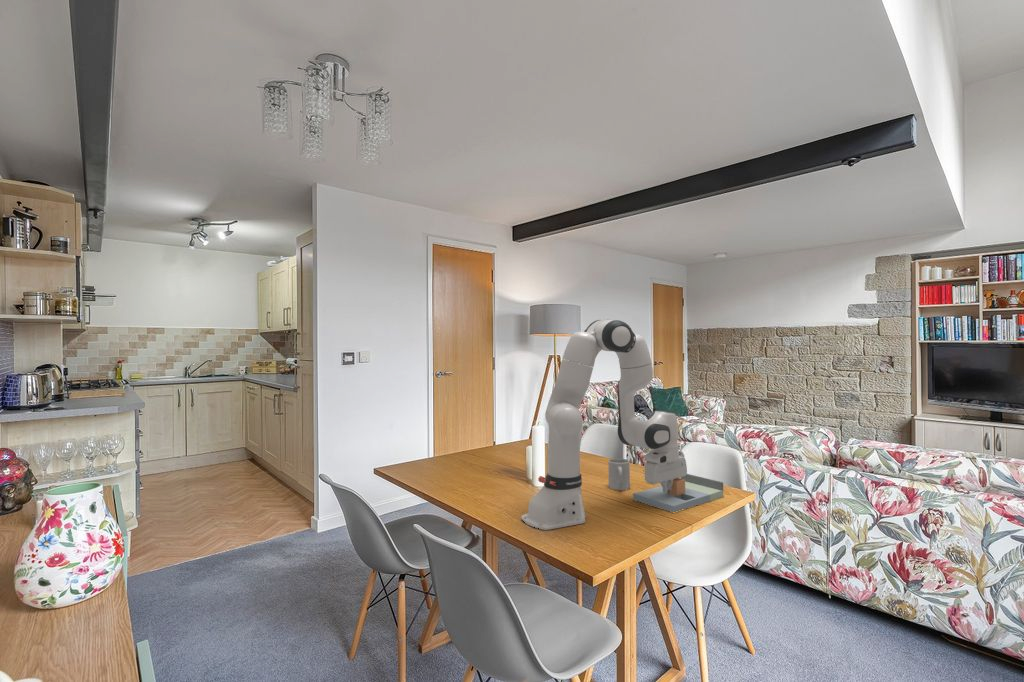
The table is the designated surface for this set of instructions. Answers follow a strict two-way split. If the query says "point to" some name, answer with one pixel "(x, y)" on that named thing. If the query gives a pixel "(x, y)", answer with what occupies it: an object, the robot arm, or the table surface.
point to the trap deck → (695, 494)
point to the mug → (619, 474)
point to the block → (678, 487)
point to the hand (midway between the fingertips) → (667, 492)
